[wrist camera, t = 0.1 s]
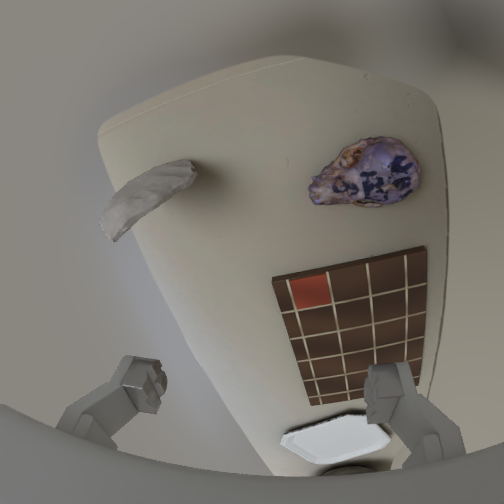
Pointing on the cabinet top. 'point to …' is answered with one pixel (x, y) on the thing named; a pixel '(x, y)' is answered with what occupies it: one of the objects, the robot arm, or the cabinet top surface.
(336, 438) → the plate
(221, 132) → the cabinet top surface
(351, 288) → the board
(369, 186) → the skull
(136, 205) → the stone tool
